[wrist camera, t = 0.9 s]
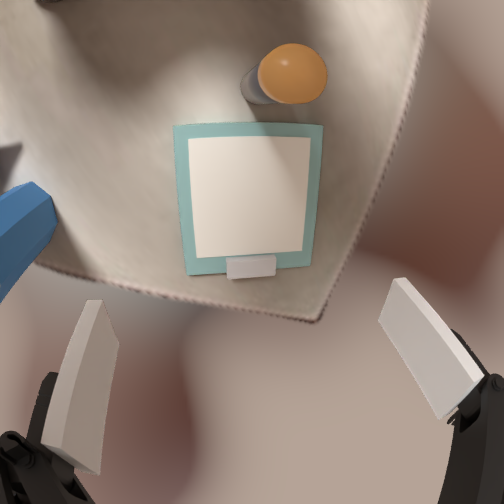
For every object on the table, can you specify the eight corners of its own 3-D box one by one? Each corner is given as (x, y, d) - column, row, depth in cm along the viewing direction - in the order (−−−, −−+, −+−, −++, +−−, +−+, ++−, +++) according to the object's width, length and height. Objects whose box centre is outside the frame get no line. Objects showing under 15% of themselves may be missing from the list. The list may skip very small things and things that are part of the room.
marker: (239, 68, 24) (263, 40, 13) (278, 70, 25) (327, 48, 14) (239, 105, 26) (262, 102, 15) (278, 105, 27) (326, 106, 16)
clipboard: (174, 125, 26) (171, 126, 24) (319, 124, 29) (327, 126, 27) (187, 272, 35) (186, 282, 33) (307, 263, 37) (313, 272, 36)
